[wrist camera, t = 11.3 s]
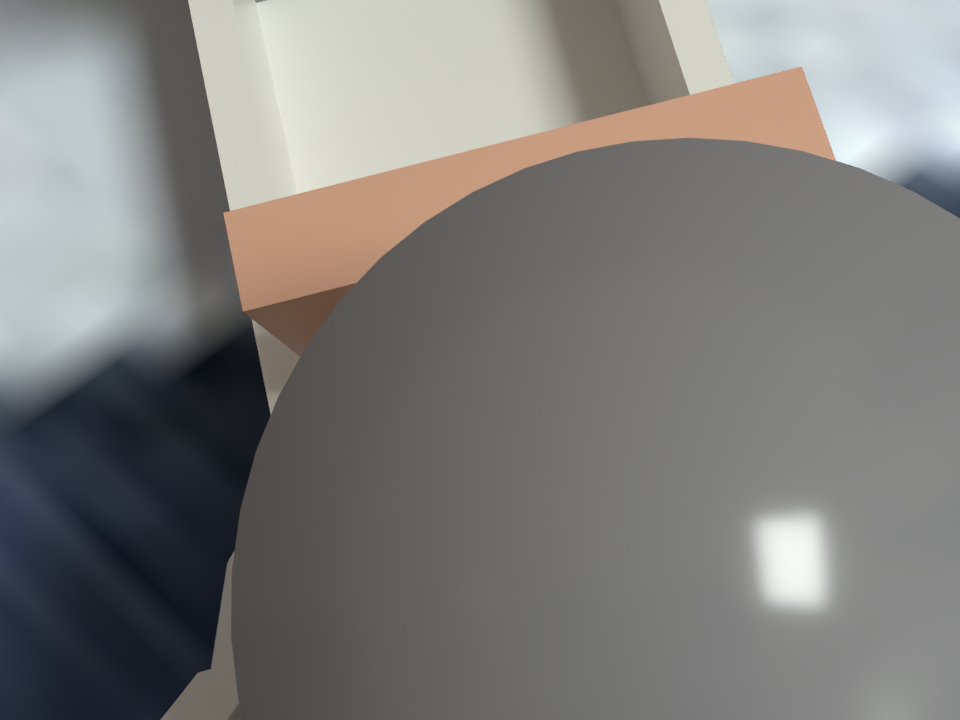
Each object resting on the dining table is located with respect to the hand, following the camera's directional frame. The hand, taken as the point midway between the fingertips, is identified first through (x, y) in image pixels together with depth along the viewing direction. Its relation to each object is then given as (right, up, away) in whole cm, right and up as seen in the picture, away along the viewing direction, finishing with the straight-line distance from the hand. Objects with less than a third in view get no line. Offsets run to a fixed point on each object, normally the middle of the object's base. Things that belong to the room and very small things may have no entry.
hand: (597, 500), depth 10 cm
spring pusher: (-1, +2, +6) cm, 7 cm away
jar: (0, -2, +5) cm, 6 cm away
